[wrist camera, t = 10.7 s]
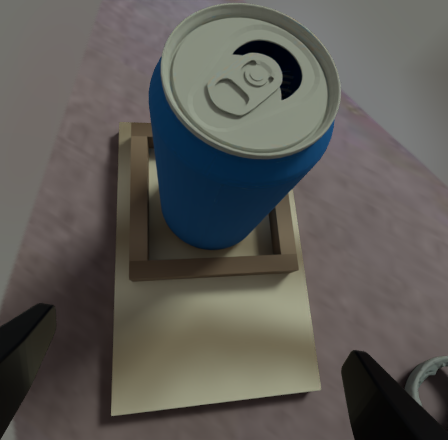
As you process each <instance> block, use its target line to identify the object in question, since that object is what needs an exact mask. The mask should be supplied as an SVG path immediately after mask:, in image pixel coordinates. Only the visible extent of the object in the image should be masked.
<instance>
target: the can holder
mask: <svg viewBox="0 0 448 440" xmlns="http://www.w3.org/2000/svg"><path fill="white" fill-rule="evenodd" d="M317 390H321V385H320V378H319V371H318V364H317V356H316V349H315V342H314V335H313V328H312V321H311V314H310V307H309V300H308V293H307V286H306V279H305V272H304V265H303V258H302V251H301V244H300V237H299V230H298V223H297V216H296V209H295V202H294V195H293V189H292V190H291V191H290V192H289V193H288V194H287V195H286V196H285V197H284V198H283V199H282V200H281V201H280V202H279V203H278V204H277V205H276V206H275V208H274V209H273V210H272V211H271V212H270V213H269V214H268V215H267V216H266V217H265V218H264V219H263V220H262V221H261V222H260V223H259V224H258V225H257V226H256V228H255V229H254V230H253V231H252V232H251V233H250V234H249V235H248V236H247V237H246V238H245V239H243V240H242V241H241V242H239V243H238V244H236V245H234V246H231V247H228V248H225V249H220V250H205V249H200V248H196V247H194V246H191V245H189V244H187V243H185V242H184V241H182V240H181V239H179V238H178V237H177V236H176V235H175V234H174V233H173V232H172V231H171V229H170V228H169V226H168V225H167V223H166V221H165V219H164V217H163V213H162V209H161V202H160V194H159V185H158V177H157V168H156V160H155V151H154V143H153V134H152V126H151V123H129V122H119V153H118V189H117V225H116V260H115V296H114V331H113V367H112V403H111V416H116V415H124V414H132V413H140V412H148V411H156V410H164V409H172V408H180V407H188V406H196V405H204V404H212V403H220V402H228V401H236V400H244V399H252V398H260V397H268V396H276V395H284V394H293V393H301V392H309V391H317Z"/></svg>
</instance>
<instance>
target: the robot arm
mask: <svg viewBox="0 0 448 440" xmlns="http://www.w3.org/2000/svg"><path fill="white" fill-rule="evenodd" d="M55 330H56V309H55V306H54V305H51V304H44V303H39V304H36V305H35V306H33V307H32V308H30V309H28V310H27V311H25V312H23V313H22V314H20V315H19V316H17V317H15V318H14V319H12V320H11V321H9V322H7V323H6V324H4V325H2V326H1V327H0V439H1V438H2V436H3V434H4V432H5V431H6V429H7V427H8V426H9V424H10V422H11V420H12V419H13V417H14V415H15V413H16V412H17V410H18V408H19V406H20V405H21V403H22V401H23V400H24V398H25V396H26V394H27V392H28V390H29V389H30V387H31V385H32V382H33V380H34V378H35V376H36V374H37V371H38V369H39V367H40V365H41V362H42V360H43V358H44V356H45V354H46V351H47V349H48V347H49V345H50V342H51V340H52V338H53V336H54V333H55ZM341 374H342V380H343V386H344V391H345V397H346V402H347V408H348V413H349V419H350V423H351V428H352V432H353V435H354V439H355V440H448V432H447V431H446V430H445V429H444V428H443V427H442V426H441V425H440V424H439V423H438V422H437V421H436V420H435V419H434V418H433V417H432V416H431V415H430V414H429V413H428V412H427V411H426V410H425V409H424V408H423V407H422V406H421V405H420V404H419V403H418V402H417V401H416V400H415V399H413V398H412V397H411V396H410V395H409V394H408V393H407V392H406V391H405V390H404V389H403V388H402V387H401V386H400V385H399V384H398V383H397V382H396V381H395V380H394V379H393V378H392V377H391V376H390V375H389V374H388V373H387V372H386V371H385V370H384V369H383V368H382V367H381V366H380V365H379V364H378V363H377V362H376V361H375V360H374V359H373V358H372V357H371V356H370V355H369V354H368V353H366V352H364V351H358V350H353V351H351V353H350V354H349V356H348V357H347V359H346V361H345V362H344V364H343V366H342V370H341Z"/></svg>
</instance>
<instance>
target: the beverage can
mask: <svg viewBox="0 0 448 440" xmlns="http://www.w3.org/2000/svg"><path fill="white" fill-rule="evenodd" d="M340 97H341V86H340V79H339V75H338V71H337V68H336V65H335V63H334V61H333V59H332V57H331V55H330V54H329V52H328V51H327V49H326V48H325V46H324V45H323V44H322V42H321V41H320V40H319V39H318V38H317V37H316V36H315V35H314V34H313V33H312V32H311V31H310V30H308V29H307V28H306V27H305V26H304V25H302V24H301V23H299V22H298V21H296V20H295V19H293V18H291V17H289V16H287V15H286V14H284V13H281V12H279V11H276V10H274V9H271V8H267V7H264V6H259V5H254V4H246V3H227V4H219V5H215V6H210V7H207V8H205V9H202V10H199V11H198V12H196V13H194V14H192V15H190V16H189V17H187V18H186V19H184V20H183V21H182V22H181V23H180V24H179V25H178V26H177V27H176V28H175V29H174V30H173V32H172V33H171V34H170V36H169V38H168V40H167V42H166V44H165V46H164V49H163V52H162V56H161V58H160V60H159V62H158V63H157V65H156V67H155V69H154V72H153V75H152V78H151V82H150V88H149V109H150V117H151V126H152V134H153V143H154V151H155V160H156V168H157V177H158V185H159V194H160V202H161V209H162V213H163V217H164V219H165V221H166V223H167V225H168V226H169V228H170V229H171V231H172V232H173V233H174V234H175V235H176V236H177V237H178V238H179V239H181V240H182V241H184V242H185V243H187V244H189V245H191V246H194V247H196V248H200V249H205V250H220V249H225V248H228V247H231V246H234V245H236V244H238V243H239V242H241V241H242V240H243V239H245V238H246V237H247V236H248V235H249V234H250V233H251V232H252V231H253V230H254V229H255V228H256V226H257V225H258V224H259V223H260V222H261V221H262V220H263V219H264V218H265V217H266V216H267V215H268V214H269V213H270V212H271V211H272V210H273V209H274V208H275V206H276V205H277V204H278V203H279V202H280V201H281V200H282V199H283V198H284V197H285V196H286V195H287V194H288V193H289V192H290V191H291V190H292V189H293V188H294V186H295V185H296V184H297V183H298V182H299V181H300V180H301V179H302V178H303V177H304V176H305V175H306V174H307V173H308V172H309V171H310V170H311V169H312V168H313V167H314V165H315V164H316V163H317V162H318V161H319V160H320V159H321V157H322V155H323V154H324V152H325V151H326V149H327V146H328V144H329V142H330V139H331V136H332V132H333V128H334V119H335V116H336V114H337V112H338V108H339V104H340Z"/></svg>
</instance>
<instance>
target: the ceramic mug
mask: <svg viewBox="0 0 448 440" xmlns="http://www.w3.org/2000/svg"><path fill="white" fill-rule="evenodd" d="M444 366H448V356H439V357H435V358H432V359H429V360H427V361H425V362H423V363H421V364H419V365H418V366H417V367H416V368H415V369H414V370H413V371H412V373H411V374H410V375H409V377H408V380H407V382H406V385H405V391H406V392H407V393H408V394H409V395H410V396H411V397H412V398H413V399H415V400H416V401H417V402H418V403H419V404H420V405H421V402H420V399H419V393H418V388H419V386H420V385H421V384H422V382H423V381H424V380H425V379H426V378H427V377H428V376H430V375H435V374H436V371H437V370H438V369H439V368H441V367H444ZM421 406H422V405H421Z"/></svg>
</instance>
